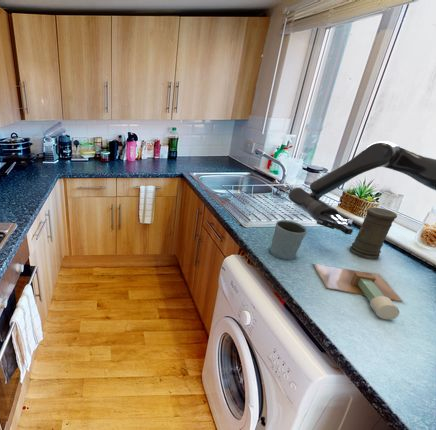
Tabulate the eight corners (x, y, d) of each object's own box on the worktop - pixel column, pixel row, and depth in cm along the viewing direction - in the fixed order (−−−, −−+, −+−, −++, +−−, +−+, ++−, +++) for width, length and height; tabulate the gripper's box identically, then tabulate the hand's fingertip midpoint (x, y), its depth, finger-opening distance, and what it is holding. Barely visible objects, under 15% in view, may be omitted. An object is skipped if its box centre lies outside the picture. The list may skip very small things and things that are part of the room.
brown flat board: (378, 275, 99) (378, 274, 99) (401, 302, 87) (402, 300, 87) (313, 265, 104) (313, 263, 104) (326, 288, 92) (327, 287, 92)
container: (381, 254, 112) (402, 213, 104) (373, 262, 107) (394, 218, 99) (354, 245, 118) (371, 204, 111) (345, 251, 114) (362, 209, 106)
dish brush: (373, 273, 92) (402, 307, 78) (367, 286, 94) (395, 321, 80) (355, 270, 93) (381, 303, 79) (349, 283, 95) (373, 317, 81)
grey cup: (270, 244, 117) (278, 218, 112) (298, 252, 112) (308, 225, 107) (266, 255, 110) (274, 227, 105) (296, 264, 105) (306, 235, 100)
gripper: (307, 203, 115) (333, 221, 99) (342, 204, 114) (374, 223, 98) (302, 219, 118) (326, 240, 102) (335, 221, 117) (365, 242, 101)
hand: (350, 232), depth 100 cm, fingers closed
